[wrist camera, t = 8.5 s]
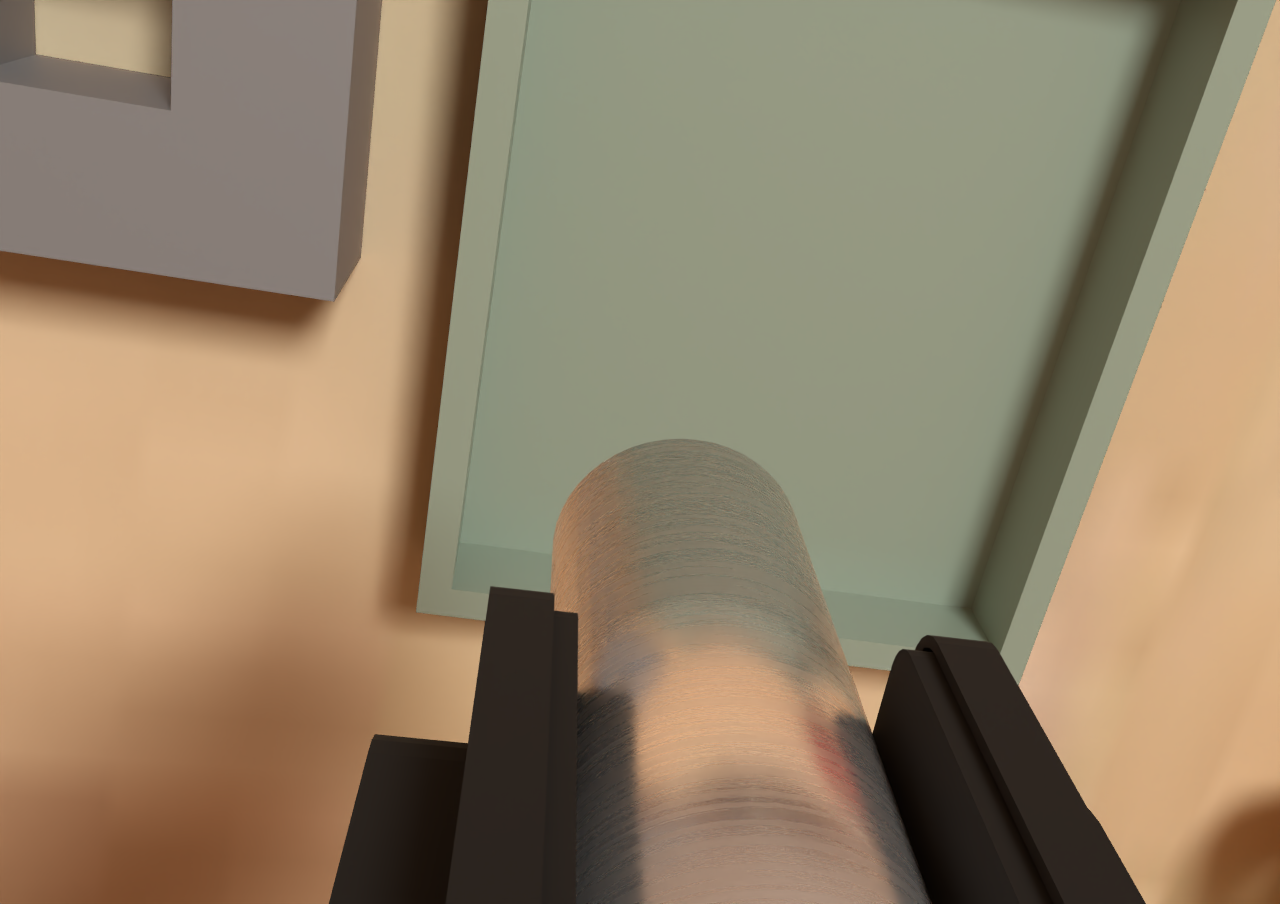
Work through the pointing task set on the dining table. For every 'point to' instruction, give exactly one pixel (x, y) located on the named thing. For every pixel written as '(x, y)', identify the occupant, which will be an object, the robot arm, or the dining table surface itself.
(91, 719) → the dining table surface
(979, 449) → the tray
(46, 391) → the dining table surface
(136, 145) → the grey square hole block
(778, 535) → the orange knob peg
